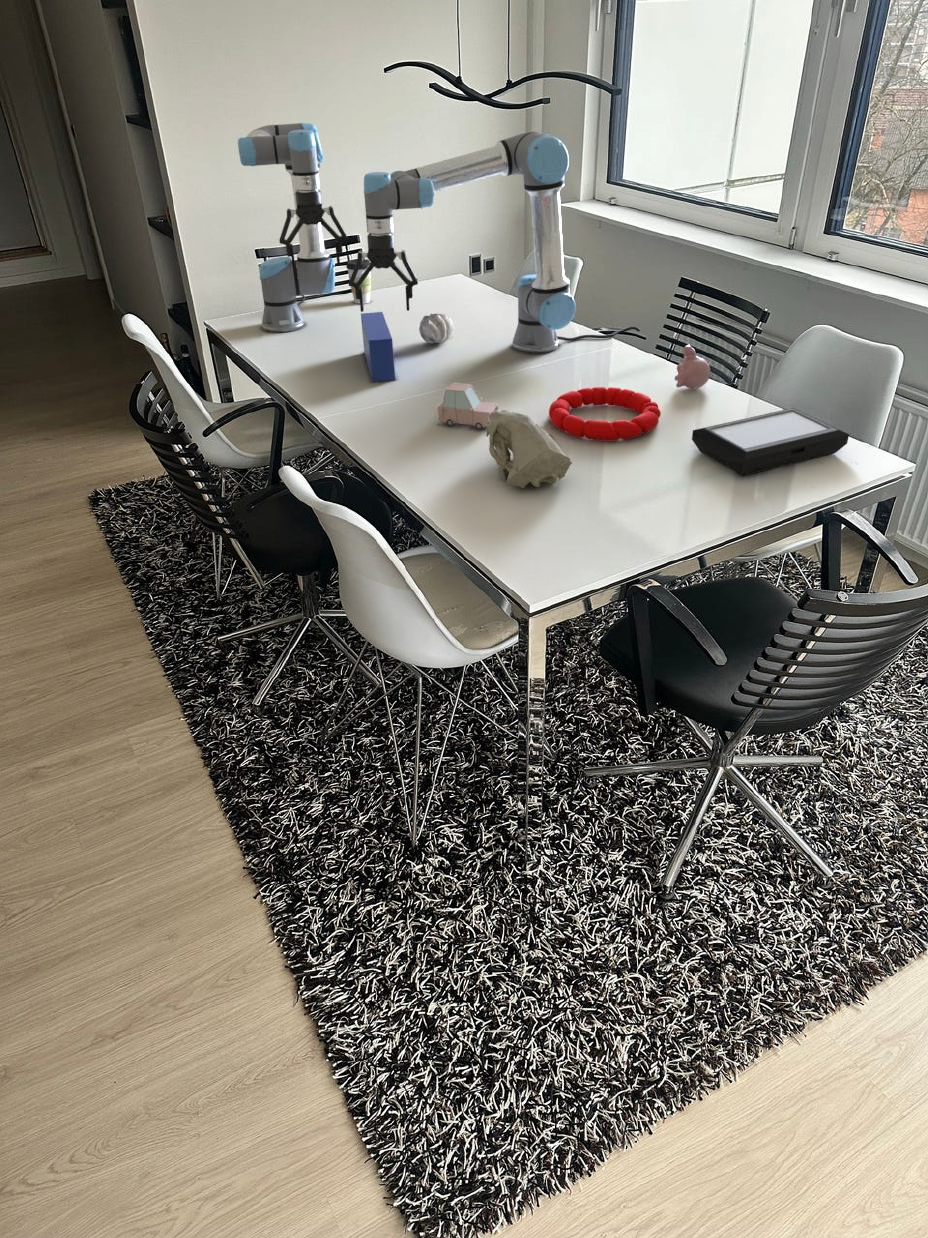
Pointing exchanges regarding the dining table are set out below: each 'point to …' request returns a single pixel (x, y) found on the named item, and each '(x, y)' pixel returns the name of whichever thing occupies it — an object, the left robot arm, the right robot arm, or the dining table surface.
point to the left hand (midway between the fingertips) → (316, 265)
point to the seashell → (436, 328)
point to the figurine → (692, 370)
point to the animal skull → (525, 450)
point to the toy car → (465, 406)
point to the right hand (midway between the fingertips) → (385, 309)
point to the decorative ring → (604, 428)
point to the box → (378, 347)
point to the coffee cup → (366, 283)
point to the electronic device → (769, 441)
